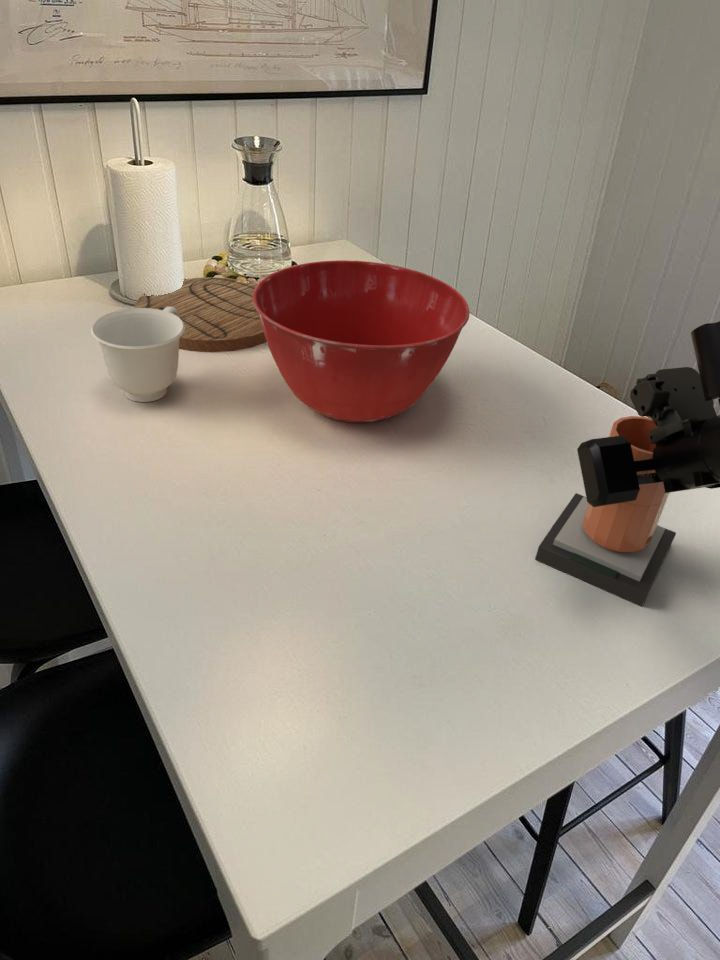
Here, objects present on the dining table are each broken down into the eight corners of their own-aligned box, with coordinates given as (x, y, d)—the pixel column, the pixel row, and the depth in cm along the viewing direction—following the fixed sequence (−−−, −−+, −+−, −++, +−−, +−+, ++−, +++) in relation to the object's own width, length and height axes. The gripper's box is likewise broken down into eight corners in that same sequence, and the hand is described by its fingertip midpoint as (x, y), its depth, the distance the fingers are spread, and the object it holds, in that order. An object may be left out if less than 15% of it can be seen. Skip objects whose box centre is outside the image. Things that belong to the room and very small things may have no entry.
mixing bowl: (294, 339, 122) (296, 245, 113) (468, 373, 117) (484, 277, 107) (221, 427, 100) (216, 319, 91) (431, 473, 95) (448, 364, 85)
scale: (670, 545, 87) (678, 527, 85) (642, 607, 78) (650, 588, 77) (571, 505, 91) (577, 487, 90) (534, 559, 83) (540, 540, 81)
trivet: (211, 367, 112) (211, 356, 111) (103, 316, 123) (101, 305, 122) (317, 317, 129) (318, 307, 128) (213, 276, 140) (213, 266, 139)
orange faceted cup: (657, 558, 80) (698, 457, 73) (590, 554, 80) (624, 452, 72) (637, 515, 86) (672, 418, 79) (574, 512, 86) (604, 414, 78)
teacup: (215, 374, 111) (212, 311, 105) (158, 423, 99) (151, 355, 93) (145, 356, 114) (138, 293, 108) (82, 401, 102) (70, 333, 96)
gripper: (792, 350, 69) (679, 394, 84) (616, 367, 63) (529, 410, 78) (819, 470, 67) (699, 493, 82) (642, 496, 62) (549, 516, 77)
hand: (621, 475), depth 80 cm, fingers open, 9 cm apart
